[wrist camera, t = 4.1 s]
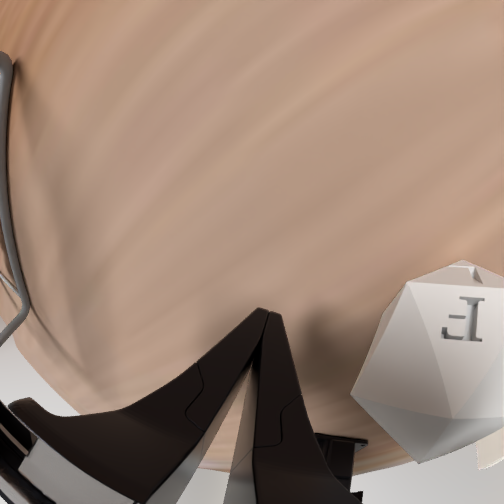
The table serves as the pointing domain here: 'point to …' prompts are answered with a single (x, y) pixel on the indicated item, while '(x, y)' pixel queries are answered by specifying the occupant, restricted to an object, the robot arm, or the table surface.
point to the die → (438, 362)
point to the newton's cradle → (3, 65)
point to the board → (490, 449)
